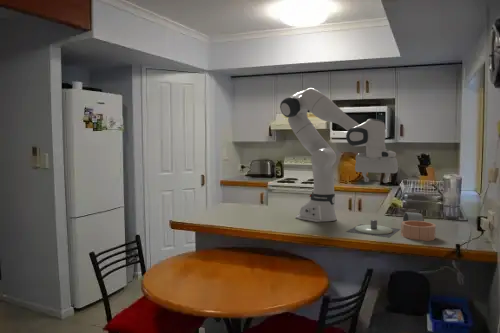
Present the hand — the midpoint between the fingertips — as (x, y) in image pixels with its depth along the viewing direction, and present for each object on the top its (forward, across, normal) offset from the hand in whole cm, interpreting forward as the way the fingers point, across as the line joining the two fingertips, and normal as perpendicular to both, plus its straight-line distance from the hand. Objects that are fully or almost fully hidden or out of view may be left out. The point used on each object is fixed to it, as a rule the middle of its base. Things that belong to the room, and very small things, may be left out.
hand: (375, 182), depth 196 cm
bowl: (+24, +19, +1) cm, 31 cm away
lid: (+23, 0, -2) cm, 23 cm away
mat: (+23, 0, -2) cm, 23 cm away
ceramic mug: (+24, +10, +20) cm, 33 cm away
